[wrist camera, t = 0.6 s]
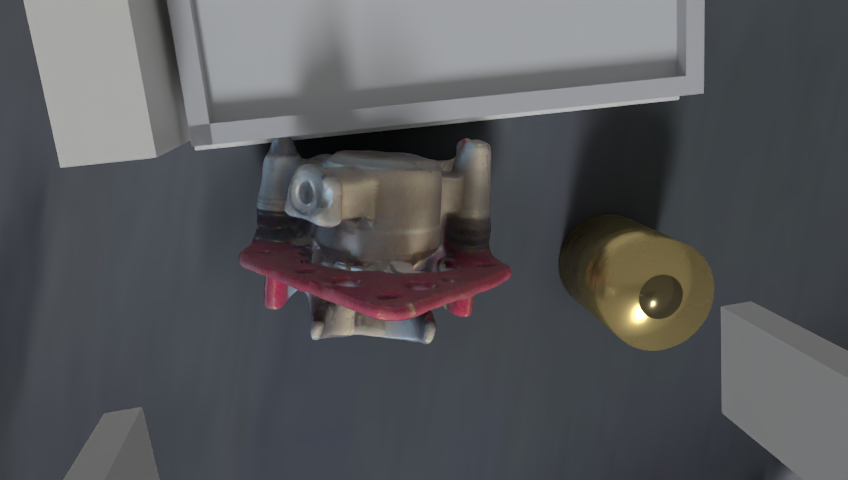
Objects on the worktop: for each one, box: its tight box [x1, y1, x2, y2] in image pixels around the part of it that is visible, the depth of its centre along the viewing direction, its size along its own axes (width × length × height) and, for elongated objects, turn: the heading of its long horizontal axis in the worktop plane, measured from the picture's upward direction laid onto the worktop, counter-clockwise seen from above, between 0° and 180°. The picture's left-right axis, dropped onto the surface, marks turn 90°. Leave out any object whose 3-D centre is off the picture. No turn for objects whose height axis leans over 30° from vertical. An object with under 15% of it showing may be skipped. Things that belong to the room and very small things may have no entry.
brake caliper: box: [239, 137, 511, 344], centre depth 30 cm, size 11×11×12 cm
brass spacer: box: [559, 214, 714, 351], centre depth 33 cm, size 5×5×6 cm
